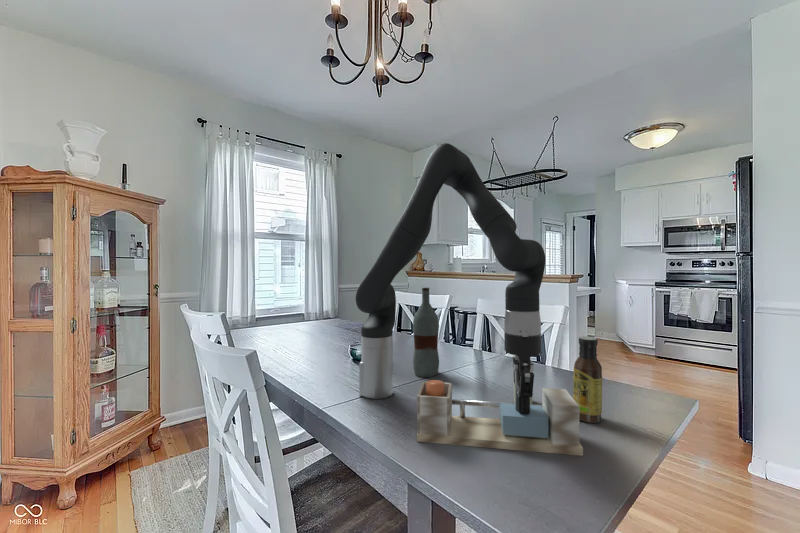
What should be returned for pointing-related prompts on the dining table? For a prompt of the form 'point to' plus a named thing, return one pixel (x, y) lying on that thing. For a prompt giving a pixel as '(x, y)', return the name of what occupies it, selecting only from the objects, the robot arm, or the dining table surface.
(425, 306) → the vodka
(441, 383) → the button
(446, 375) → the dining table surface
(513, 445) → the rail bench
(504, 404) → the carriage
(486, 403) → the handrail
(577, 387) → the sauce bottle
